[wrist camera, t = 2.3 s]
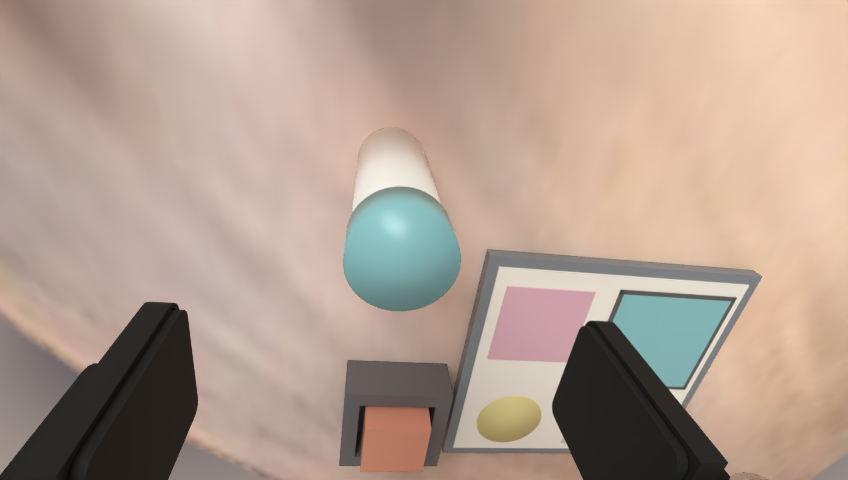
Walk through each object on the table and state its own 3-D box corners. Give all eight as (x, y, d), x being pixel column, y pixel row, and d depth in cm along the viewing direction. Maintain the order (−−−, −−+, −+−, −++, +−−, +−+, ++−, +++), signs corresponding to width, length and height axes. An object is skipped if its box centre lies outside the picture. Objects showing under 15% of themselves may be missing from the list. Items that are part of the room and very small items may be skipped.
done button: (427, 399, 30) (431, 429, 28) (419, 440, 32) (422, 471, 30) (365, 398, 29) (365, 428, 27) (361, 440, 31) (360, 471, 29)
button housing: (446, 363, 31) (453, 396, 28) (432, 430, 34) (436, 465, 32) (347, 360, 30) (345, 394, 27) (342, 429, 33) (339, 465, 31)
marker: (430, 130, 23) (470, 215, 13) (421, 196, 25) (449, 314, 15) (359, 121, 23) (346, 204, 13) (354, 189, 24) (339, 308, 15)
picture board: (753, 270, 30) (764, 278, 29) (653, 445, 38) (660, 455, 37) (487, 249, 27) (491, 257, 26) (441, 443, 35) (443, 454, 34)
